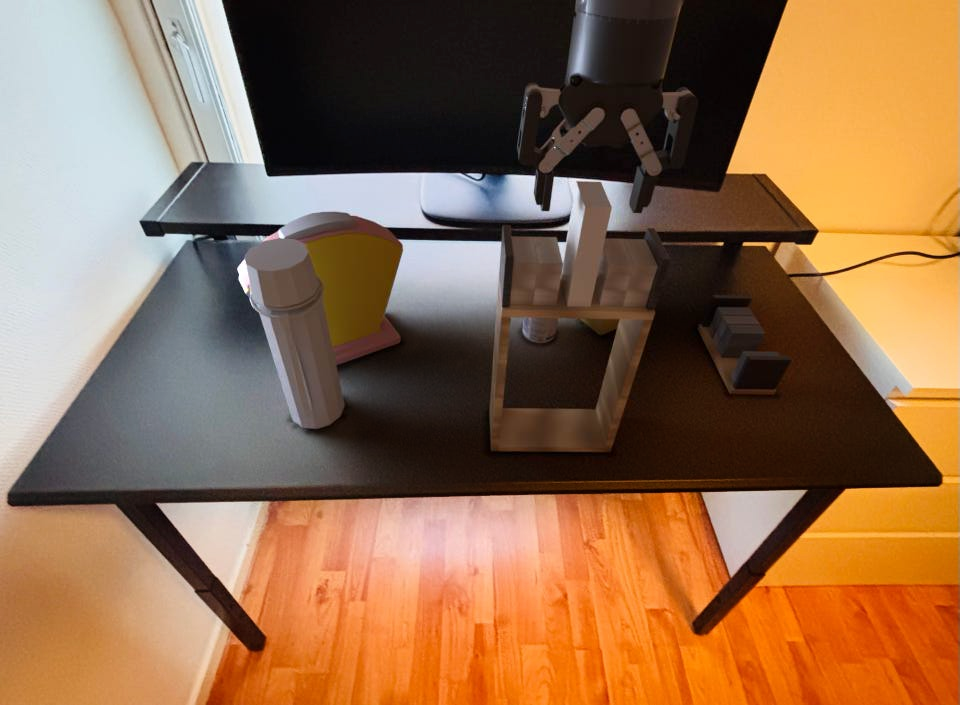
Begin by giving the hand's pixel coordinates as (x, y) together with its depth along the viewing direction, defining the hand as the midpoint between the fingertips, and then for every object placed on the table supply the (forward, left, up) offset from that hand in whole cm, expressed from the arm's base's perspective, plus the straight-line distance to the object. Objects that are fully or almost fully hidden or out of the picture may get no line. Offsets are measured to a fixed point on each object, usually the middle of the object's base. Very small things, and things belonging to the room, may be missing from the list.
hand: (589, 208), depth 50 cm
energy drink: (+15, -14, -33) cm, 38 cm away
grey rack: (-9, -33, -32) cm, 47 cm away
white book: (0, 0, -9) cm, 9 cm away
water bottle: (+22, +22, -33) cm, 45 cm away
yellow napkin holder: (+33, +12, -33) cm, 48 cm away
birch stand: (0, 0, -32) cm, 32 cm away
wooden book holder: (0, 0, -10) cm, 10 cm away
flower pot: (+10, -24, -33) cm, 42 cm away
